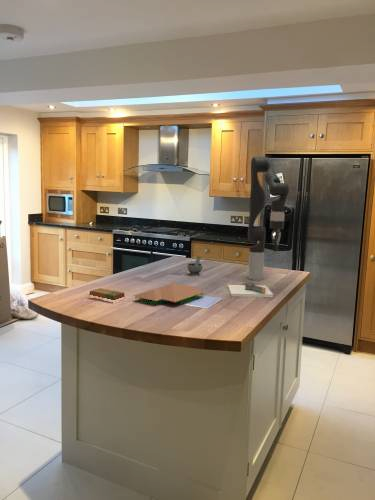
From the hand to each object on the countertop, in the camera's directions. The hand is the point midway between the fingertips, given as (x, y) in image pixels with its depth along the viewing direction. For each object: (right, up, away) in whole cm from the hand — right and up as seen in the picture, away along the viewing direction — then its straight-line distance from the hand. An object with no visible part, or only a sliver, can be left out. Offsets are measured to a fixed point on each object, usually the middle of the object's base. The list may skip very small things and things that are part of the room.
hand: (275, 251), depth 236 cm
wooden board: (-57, -25, -17) cm, 64 cm away
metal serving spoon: (-12, -21, -5) cm, 25 cm away
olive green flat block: (-89, -25, -21) cm, 95 cm away
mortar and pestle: (-44, -16, +42) cm, 62 cm away
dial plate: (-14, -23, -1) cm, 27 cm away
